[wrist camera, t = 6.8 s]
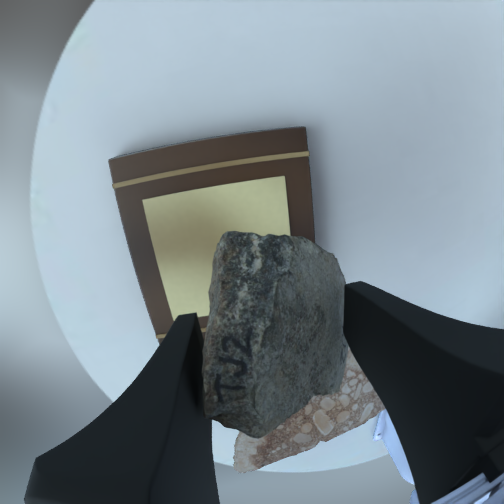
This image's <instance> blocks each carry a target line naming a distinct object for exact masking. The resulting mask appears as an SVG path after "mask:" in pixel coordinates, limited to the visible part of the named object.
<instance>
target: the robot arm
mask: <svg viewBox="0 0 504 504" xmlns="http://www.w3.org/2000/svg"><path fill="white" fill-rule="evenodd" d="M343 334H344V336H345V339H346V341H347V343H348V346H349V348H350V350H351V352H352V354H353V356H354V358H355V360H356V361H357V363H358V364H359V366H360V368H361V369H362V371H363V372H364V374H365V376H366V377H367V379H368V380H369V382H370V384H371V385H372V387H373V388H374V390H375V392H376V393H377V395H378V396H379V398H380V400H381V401H382V403H383V405H384V407H385V410H383V411H381V412H380V415H379V419H378V422H377V426H376V429H375V433H374V436H373V440H374V441H378V440H381V439H382V440H383V442H384V444H385V446H386V448H387V450H388V452H389V453H390V455H391V457H392V459H393V461H394V463H395V465H396V467H397V469H398V471H399V473H400V475H401V476H402V477H403V478H404V479H405V480H406V481H408V482H409V483H412V484H414V485H415V488H416V489H415V490H413V491H412V494H411V498H410V504H504V329H497V328H490V327H485V326H480V325H475V324H471V323H466V322H463V321H459V320H456V319H452V318H449V317H446V316H443V315H440V314H437V313H434V312H432V311H429V310H426V309H424V308H421V307H419V306H417V305H414V304H412V303H409V302H407V301H405V300H403V299H401V298H398V297H396V296H394V295H392V294H390V293H387V292H385V291H383V290H381V289H379V288H377V287H374V286H372V285H370V284H367V283H365V282H362V281H359V282H354V283H350V284H345V285H344V318H343ZM203 346H204V339H203V335H202V331H201V327H200V324H199V320H198V316H197V312H195V313H189V314H182V315H178V316H177V318H176V319H175V321H174V322H173V324H172V326H171V327H170V329H169V331H168V332H167V334H166V336H165V337H164V339H163V340H162V342H161V344H160V345H159V347H158V348H157V350H156V351H155V353H154V354H153V356H152V357H151V359H150V360H149V361H148V363H147V364H146V366H145V367H144V368H143V370H142V371H141V372H140V374H139V375H138V376H137V378H136V379H135V380H134V381H133V382H132V384H131V385H130V386H129V387H128V388H127V389H126V390H125V391H124V392H123V393H122V395H121V396H120V397H119V398H118V399H117V400H116V401H115V402H113V403H112V404H111V405H110V406H109V407H108V408H107V409H106V410H105V411H104V412H103V413H102V414H100V415H99V416H98V417H97V418H96V419H95V420H93V421H92V422H91V423H90V424H89V425H87V426H86V427H85V428H83V429H82V430H81V431H79V432H78V433H76V434H75V435H74V436H72V437H71V438H69V439H68V440H66V441H65V442H63V443H61V444H60V445H58V446H57V447H55V448H53V449H51V450H49V451H48V452H46V453H44V454H42V455H41V456H39V457H37V458H36V459H35V462H34V465H33V469H32V472H31V475H30V479H29V483H28V486H27V490H26V494H25V498H24V501H25V504H220V502H219V496H218V489H217V483H216V476H215V469H214V461H213V453H212V419H205V418H204V416H203V376H202V365H203V353H202V350H203Z"/></svg>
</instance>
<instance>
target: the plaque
mask: <svg viewBox="0 0 504 504" xmlns="http://www.w3.org/2000/svg"><path fill="white" fill-rule="evenodd" d="M309 156H310V155H309V151H308V145H307V135H306V128H305V127H289V128H279V129H269V130H260V131H252V132H244V133H237V134H230V135H223V136H216V137H210V138H204V139H198V140H192V141H187V142H182V143H176V144H171V145H166V146H161V147H157V148H152V149H147V150H143V151H138V152H134V153H130V154H126V155H122V156H118V157H114V158H111V159H109V167H110V172H111V177H112V181H113V184H112V186H113V189H114V191H115V195H116V200H117V204H118V208H119V213H120V217H121V221H122V225H123V229H124V233H125V236H126V240H127V244H128V248H129V251H130V255H131V258H132V262H133V265H134V269H135V272H136V275H137V279H138V282H139V285H140V289H141V292H142V295H143V298H144V301H145V304H146V307H147V310H148V313H149V316H150V319H151V322H152V325H153V328H154V330H155V333H156V338H157V339H158V342H159V344H161V342H162V340H163V339H164V337H165V336H166V334H167V332H168V331H169V329H170V327H171V326H172V324H173V322H174V321H175V319H176V318H177V316H178V315H182V314H189V313H195V312H197V316H198V320H199V324H200V327H201V331H202V335H203V339H204V341H205V333H206V327H207V322H208V318H209V312H210V308H209V305H210V301H209V295H208V291H209V287H210V284H211V278H212V262H213V257H214V252H215V251H216V247H217V243H219V241H220V238H221V236H222V235H223V234H224V233H225V232H227V231H238V232H253V233H257V234H258V235H260V236H266V235H267V234H274V235H278V236H280V235H284V234H285V235H288V236H296V237H298V236H303V237H305V238H307V239H308V240H310V241H311V242H313V243H315V233H314V217H313V202H312V189H311V177H310V166H309Z"/></svg>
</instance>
